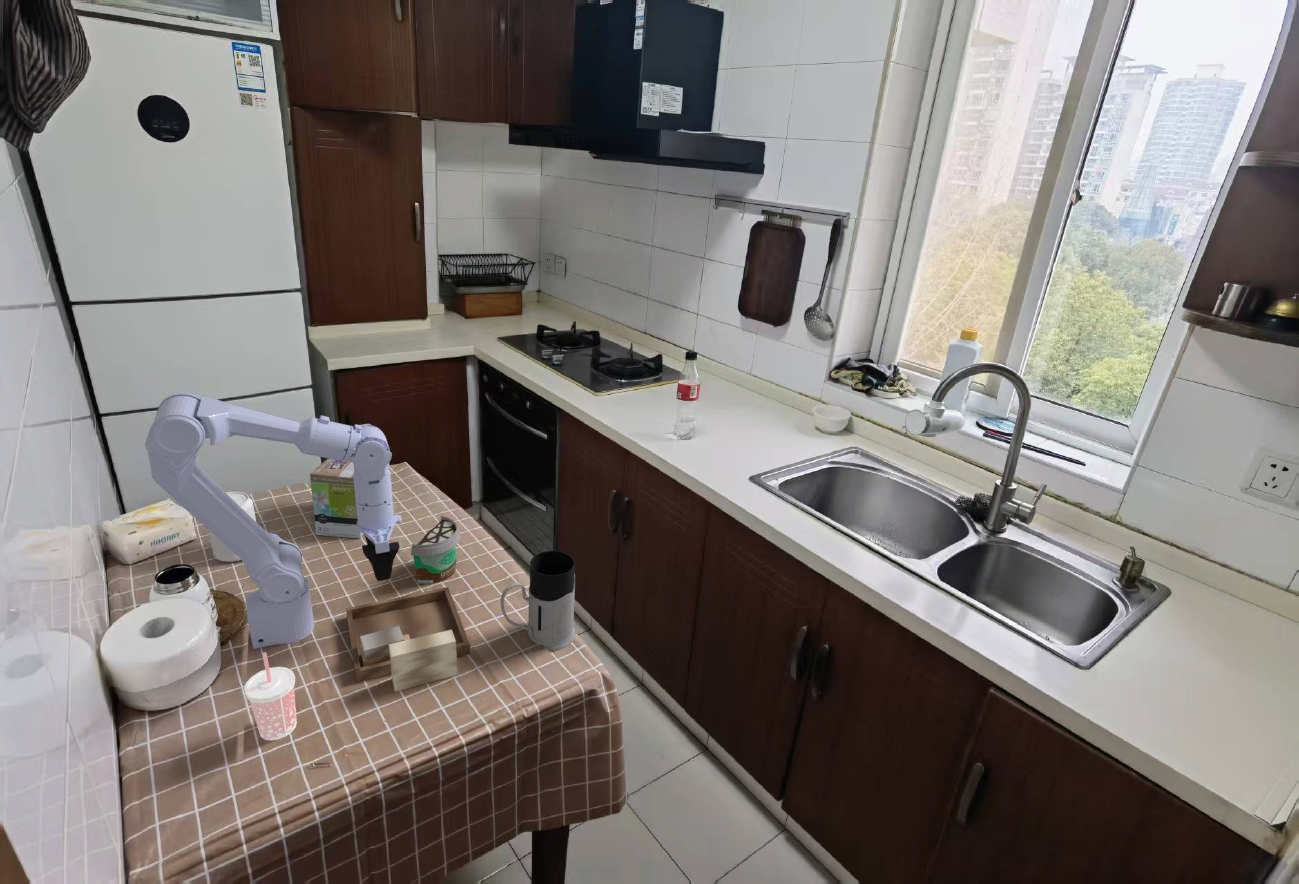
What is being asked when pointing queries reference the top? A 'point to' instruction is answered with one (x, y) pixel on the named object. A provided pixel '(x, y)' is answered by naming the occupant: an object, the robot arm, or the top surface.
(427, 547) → the food container
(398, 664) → the cream chamfered post
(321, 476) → the tea box
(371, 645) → the offcut upper
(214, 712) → the top surface
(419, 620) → the crate
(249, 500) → the beverage can
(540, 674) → the top surface
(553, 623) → the grey mug
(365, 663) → the offcut lower
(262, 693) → the beverage cup
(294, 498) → the top surface
